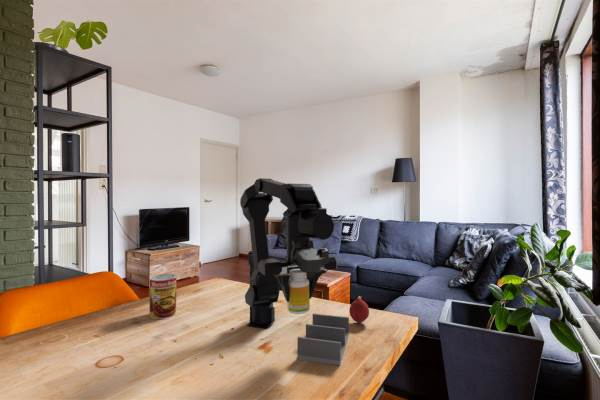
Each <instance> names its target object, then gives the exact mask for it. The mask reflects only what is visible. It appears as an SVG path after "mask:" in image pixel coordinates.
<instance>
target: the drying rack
mask: <svg viewBox="0 0 600 400" xmlns="http://www.w3.org/2000/svg"><path fill="white" fill-rule="evenodd" d="M349 331H350V318H349V316H340V315H331V314H330V315H329V314H322V313H312V324H310V323H306V324H305V337H304V336H297V345H296V346H297V347H296V348H297V352H296V353H297V356H296V358H297V360H300V361H308V362H314V363H321V364H328V365H335V366H341V364H342V361H343V358H344V355H345V354H344V353H345V351H346V346H347V345H348V339H349V337H350V336H349V335H350V332H349Z"/></svg>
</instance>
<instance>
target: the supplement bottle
mask: <svg viewBox="0 0 600 400" xmlns="http://www.w3.org/2000/svg"><path fill="white" fill-rule="evenodd" d="M289 275H290V278H289V295H290V297H289V302H287V301H286V302H287V311H288V312H289V313H290V314H292V315H293V314H294V315H303V314H307V313H309V312H310V309H311V307H310V306H311V305H310V304H311V303H310V302H311V299H310V297H309V281H308V279H306V273H304V272H302V271H301V270H300V268H295V269H289Z"/></svg>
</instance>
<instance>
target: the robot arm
mask: <svg viewBox="0 0 600 400" xmlns="http://www.w3.org/2000/svg"><path fill="white" fill-rule="evenodd" d="M273 197H274V198H278V199H279V202H280V203H281V204H282V205H283V206H285V207H286V208H287V209H286V210H285V211H283V213H282V215H283V217H286V238H285V239H284V243H285V244H286V254H285V255H284V260H286V261H280V260H278V259H277V258H270V252H269V245H268V235H267V233H268V232H267V225H266V224H267V223H266V218H267V216H268V214H269V212H270V205H271V203H273V199H274V198H273ZM239 201H240V207H241V209H242V214H243V216H244V217H245V219H246V221H247V222H248V225H249V232H250V234H249V235H250V242H251V251H252V260H253V261H252V262H253V271H252V272H253V273H252V274H251V276H250V278H249V287H248V289H247V291H246V293H245V295H244V299H245V303H246V304H247V306H249V322H247V323H246V324H247V325H246V326H247V327H255V328H262V329H263V328H264V329H268V328H269V327H271V325H272V324H273V323H274V322H275V321H276V317H275V316H276V315H275V314H276V313H275V312H276V310H275V309H276V308H275V306H274V303H278V302H279V297H280V291H282V294H283V295H284V299H285V301H286V302H289V297H290V295H289V279H291V277H290V273H288V270H293V269H300V270H301V271H302V272H304V273H306V277H305V278H306V279H308V281H309V297H310V300H311V299H312V297H313V294H314V291H315V288H316V285H317V283H318V280H319V278H320V277H322V275H323V274H326V273H327V270H328V271H329V270H336V269H338V259H337V258H336V257H335V256H332V255H330V252H329V250H328V249H327V247H324V248H323V247H322V248H318V249H315V248H314V241H313V239H316V240H322V241H324V240H327V239H329V238H330V237H331V236H332V235H333V233H334V230H335V223H334V220H333V219H332V217H331V215H329V214H328V213H327V212H328V211H327V209H328V208H327V207H322V203H321V202H320V201H319V198H318V196H317V194H316V191H315V190H314V187H313V185H311V184H310V183H289V182H288V183H285V182H281V181H278V180H274V179H272V178H264V177H263V178H258V179H257V178H256V180H255V181H254V183H253V184H252V185H250V186H248V187H247V188H246V189H245V190H244V191H243V193H242V194H241V198H240V200H239ZM325 269H326V270H325Z"/></svg>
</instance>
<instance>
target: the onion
mask: <svg viewBox="0 0 600 400" xmlns="http://www.w3.org/2000/svg"><path fill="white" fill-rule="evenodd" d="M362 299H363V298H362V296H357V298H356V299H355V300H353V302H351V303H350V305H349V312H348V313H349V316H350V318H351V319H352V320H353V321H354V322H355V323H356V324H359V325H360V324H362V323H364V322H365V321H366V319H368V318H369V316H370V315H369V314H370V310H369V309H370V308H369V306H368V304H367V303H366V302H365V301H364V300H362Z"/></svg>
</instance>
